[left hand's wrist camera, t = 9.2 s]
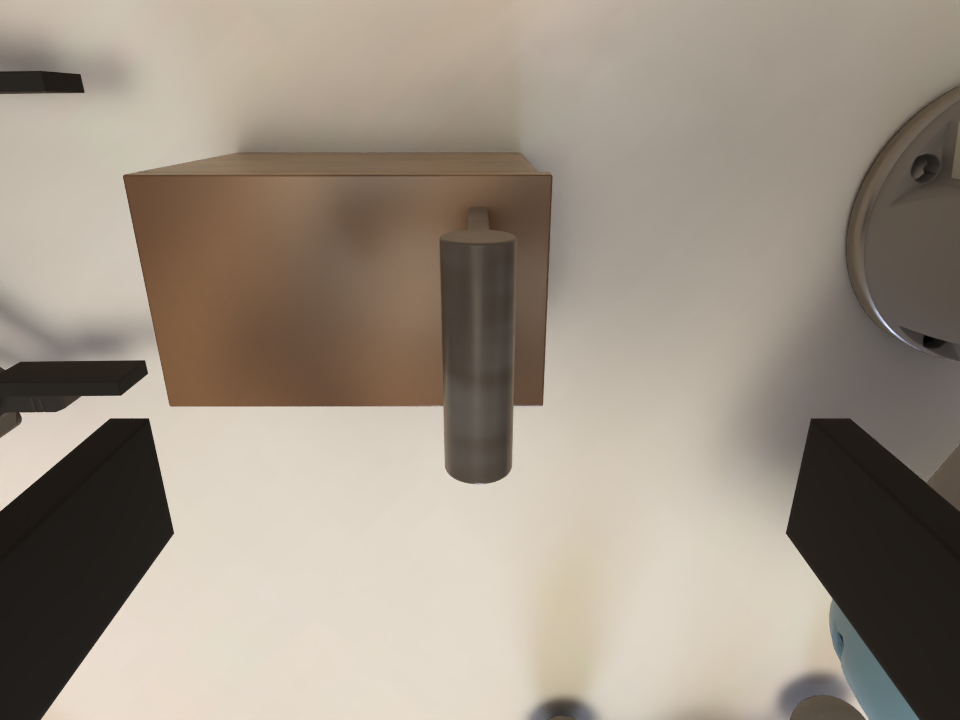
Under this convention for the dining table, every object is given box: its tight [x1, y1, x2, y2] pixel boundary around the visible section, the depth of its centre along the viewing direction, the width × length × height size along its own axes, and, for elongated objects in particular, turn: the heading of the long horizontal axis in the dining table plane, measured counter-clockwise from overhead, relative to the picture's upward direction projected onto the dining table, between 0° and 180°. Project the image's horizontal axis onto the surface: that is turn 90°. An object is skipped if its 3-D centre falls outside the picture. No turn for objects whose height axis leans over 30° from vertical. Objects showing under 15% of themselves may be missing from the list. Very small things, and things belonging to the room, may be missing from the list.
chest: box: [141, 153, 537, 172], centre depth 30 cm, size 15×9×10 cm, turn 90°
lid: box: [123, 172, 552, 484], centre depth 22 cm, size 16×9×8 cm, turn 90°
